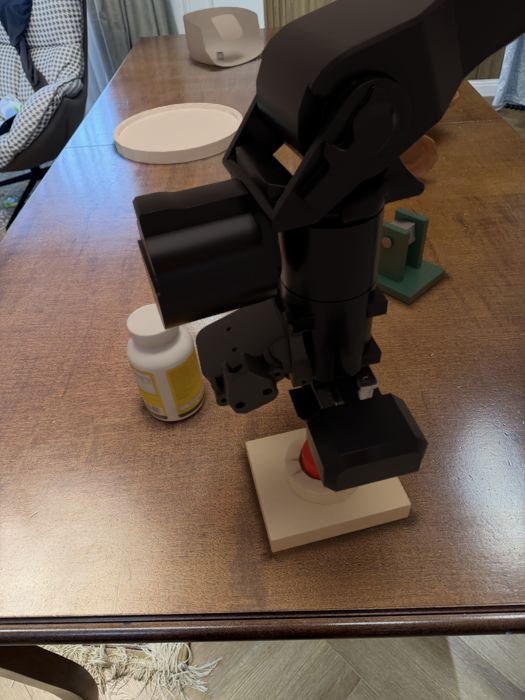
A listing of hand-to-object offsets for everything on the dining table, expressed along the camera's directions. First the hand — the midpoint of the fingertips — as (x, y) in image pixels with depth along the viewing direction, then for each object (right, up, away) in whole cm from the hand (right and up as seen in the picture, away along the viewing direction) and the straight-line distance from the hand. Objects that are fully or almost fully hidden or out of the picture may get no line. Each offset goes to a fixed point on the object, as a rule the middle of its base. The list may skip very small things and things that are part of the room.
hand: (324, 432), depth 41 cm
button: (0, -3, +3) cm, 4 cm away
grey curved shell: (-17, +95, +112) cm, 148 cm away
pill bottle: (-14, +1, +14) cm, 20 cm away
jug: (+20, +45, +56) cm, 74 cm away
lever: (+9, +22, +27) cm, 36 cm away
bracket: (+13, +17, +27) cm, 35 cm away
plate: (-23, +53, +69) cm, 90 cm away
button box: (0, -6, +5) cm, 8 cm away
